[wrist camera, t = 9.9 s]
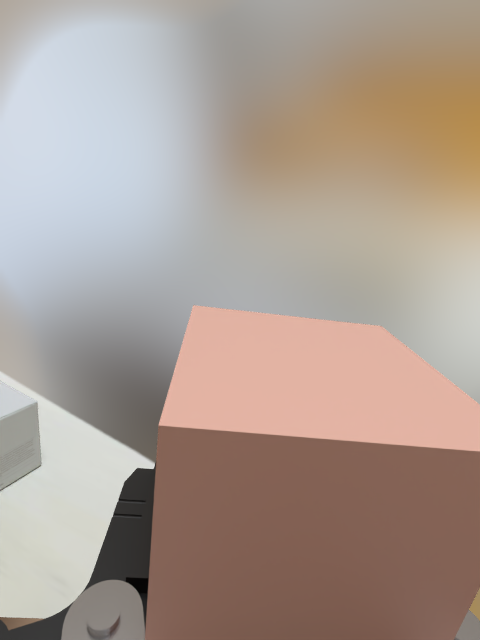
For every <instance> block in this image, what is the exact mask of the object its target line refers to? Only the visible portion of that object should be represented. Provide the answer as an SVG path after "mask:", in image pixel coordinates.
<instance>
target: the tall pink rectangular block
mask: <svg viewBox="0 0 480 640" xmlns="http://www.w3.org/2000/svg"><path fill="white" fill-rule="evenodd" d="M479 588H480V405H479V404H478V403H477V402H476V401H474V400H473V399H472V398H471V397H469V396H468V395H466V393H464V392H463V391H462V390H461V389H459V388H458V387H457V386H456V385H454V384H453V383H452V382H451V381H449V380H448V379H447V378H446V377H444V376H443V375H442V374H441V373H439V372H438V371H437V370H435V369H434V368H433V367H432V366H431V365H429V364H428V363H427V362H425V361H424V360H423V359H422V358H421V357H419V356H418V355H417V354H415V353H414V352H413V351H411V350H410V349H409V348H408V347H407V346H405V345H404V344H403V343H401V342H400V341H399V340H398V339H397V338H395V337H394V336H393V335H392V334H390V333H389V332H388V331H387V330H385V329H384V328H383V327H382V326H375V325H366V324H357V323H348V322H339V321H330V320H320V319H312V318H302V317H293V316H285V315H275V314H266V313H257V312H248V311H239V310H229V309H221V308H212V307H203V306H193V308H192V312H191V315H190V319H189V322H188V326H187V329H186V333H185V336H184V340H183V343H182V346H181V350H180V353H179V357H178V360H177V364H176V367H175V371H174V374H173V378H172V381H171V384H170V388H169V391H168V395H167V398H166V402H165V405H164V409H163V412H162V415H161V419H160V422H159V427H158V442H157V458H156V473H155V489H154V505H153V520H152V536H151V552H150V567H149V583H148V599H147V614H146V630H145V640H454V638H455V636H456V634H457V632H458V630H459V628H460V626H461V624H462V622H463V620H464V618H465V616H466V614H467V612H468V610H469V608H470V606H471V604H472V602H473V600H474V598H475V596H476V594H477V592H478V590H479Z"/></svg>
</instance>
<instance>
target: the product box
mask: <svg viewBox="0 0 480 640" xmlns="http://www.w3.org/2000/svg"><path fill="white" fill-rule="evenodd" d="M40 465H41V449H40V435H39V421H38V405H37V401H36V400H34V399H32V398H30V397H28V396H27V395H25V394H23V393H21V392H19V391H18V390H16V389H14V388H12V387H10V386H8V385H7V384H5V383H3V382H2V381H0V490H1V489H3V488H5V487H6V486H8V485H9V484H11V483H12V482H14V481H16V480H17V479H19V478H21V477H22V476H24V475H26V474H27V473H29V472H30V471H32V470H34V469H35V468H37V467H38V466H40Z"/></svg>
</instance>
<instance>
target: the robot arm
mask: <svg viewBox="0 0 480 640" xmlns="http://www.w3.org/2000/svg"><path fill="white" fill-rule="evenodd" d="M155 473H156V463H155V467H154V469H143V468H137V469H136V470H135V471H134V472H133V473H132V474H131V476H130V477H129V478H128V479H127V480H126V481H125V482H124V485H123V488H122V491H121V494H120V497H119V501H118V502H117V505H116V508H115V511H114V514H113V517H112V519H111V522H110V525H109V528H108V531H107V534H106V536H105V539H104V542H103V545H102V548H101V551H100V554H99V556H98V559H97V562H96V565H95V568H94V571H93V573H92V576H91V578H90V581H89V583H88V584H87V586H86V588H85V589H84V591H83V592H82V593H81V594H80V595H79V596H78V598H77V599H76V600H75V601H74V602H73V603H72V604H70V605H69V606H68V607H67V608H65V609H64V610H62V611H61V612H59V613H57V614H55V615H53V616H51V617H49V618H46V619H43V620H40V621H37V622H34V623H30V624H27V625H24V626H21V627H17V628H14V629H11V630H8V628H7V626H6V625H5V623H4V622H3V621H2V620H0V640H145V630H146V614H147V599H148V583H149V567H150V552H151V536H152V520H153V505H154V489H155ZM454 640H480V621H479V620H478V619H477V617H476V616H475V615H474V614H473V613H472V612H471V611H469V610H468V612H467V614H466V616H465V618H464V620H463V622H462V624H461V626H460V628H459V630H458V632H457V634H456V636H455V638H454Z"/></svg>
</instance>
